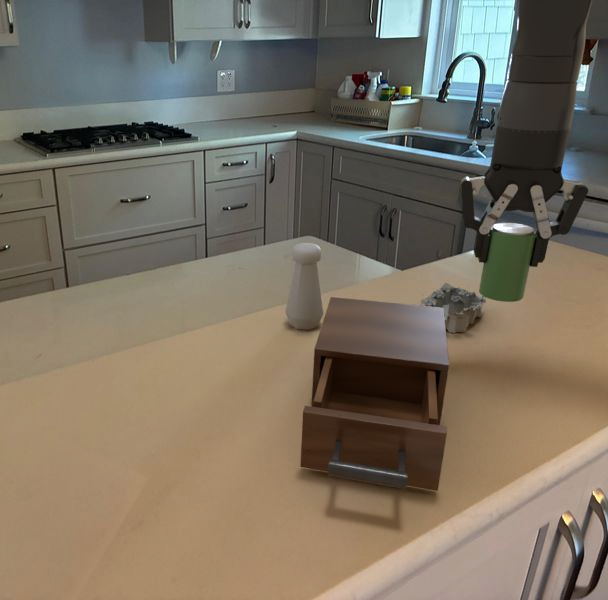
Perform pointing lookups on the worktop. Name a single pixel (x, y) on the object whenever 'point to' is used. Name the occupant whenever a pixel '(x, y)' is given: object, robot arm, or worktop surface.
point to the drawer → (375, 424)
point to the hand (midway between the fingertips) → (507, 262)
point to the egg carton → (456, 306)
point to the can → (507, 262)
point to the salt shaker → (305, 288)
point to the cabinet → (384, 338)
